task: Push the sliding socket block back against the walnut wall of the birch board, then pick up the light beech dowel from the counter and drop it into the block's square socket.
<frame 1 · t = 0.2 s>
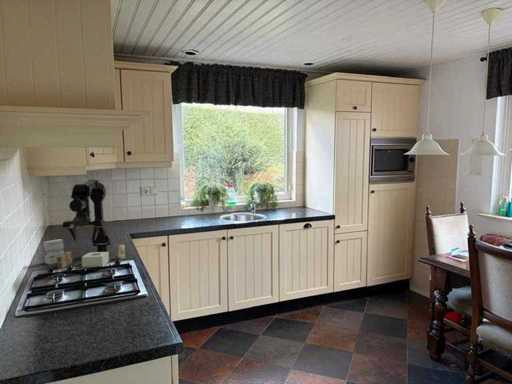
hand: (85, 240, 190), 14 cm above the countertop, tool pointing down, fingers open, 9 cm apart
wall board: (95, 266, 196), on the countertop
socket block: (95, 259, 196), point 4 cm above the countertop, slide at 9.0 cm
ink box: (54, 262, 207), on the countertop
dowel: (121, 260, 208), on the countertop
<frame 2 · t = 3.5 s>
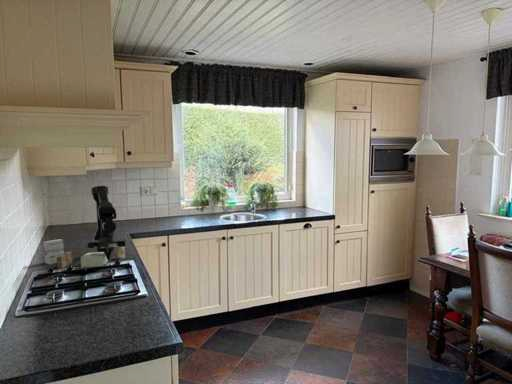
hand: (108, 260, 196), 3 cm above the countertop, tool pointing down, fingers closed
socket block: (94, 259, 196), point 4 cm above the countertop, slide at 8.5 cm, touching gripper
everything else where it was.
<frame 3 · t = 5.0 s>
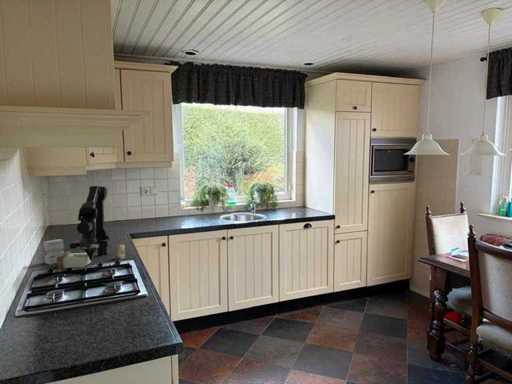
hand: (91, 260, 195), 3 cm above the countertop, tool pointing down, fingers closed
socket block: (77, 260, 195), point 4 cm above the countertop, slide at -0.1 cm, touching gripper
everything else where it was.
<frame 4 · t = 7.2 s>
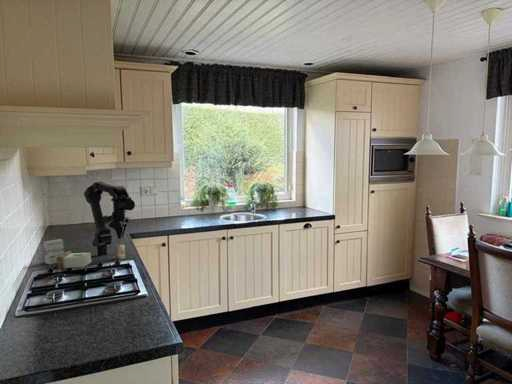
hand: (120, 238, 207), 12 cm above the countertop, tool pointing down, fingers open, 4 cm apart
socket block: (77, 260, 195), point 4 cm above the countertop, slide at 0.0 cm
everything else where it was.
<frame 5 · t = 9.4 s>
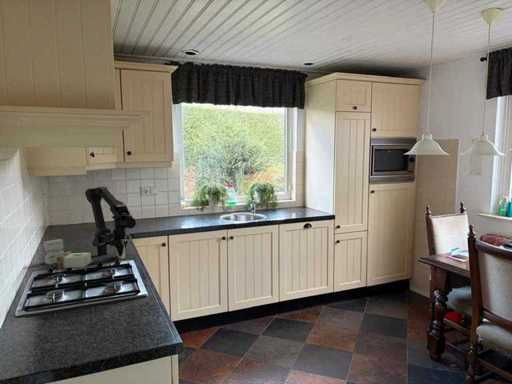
hand: (121, 255, 208), 3 cm above the countertop, tool pointing down, fingers closed on dowel, 4 cm apart
dowel: (121, 260, 208), on the countertop, touching gripper
everything else where it was.
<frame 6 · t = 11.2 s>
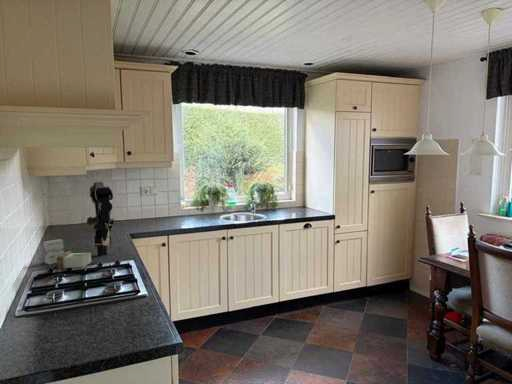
hand: (105, 240, 202), 12 cm above the countertop, tool pointing down, fingers closed on dowel, 4 cm apart
dowel: (106, 244, 203), point 9 cm above the countertop, touching gripper
everything else where it was.
when the fingers open (7 cm above the countertop, at t = 13.4 s): dowel drops 2 cm, resting on socket block.
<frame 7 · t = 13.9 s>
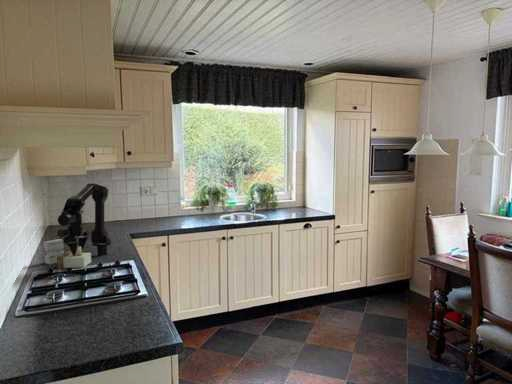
hand: (77, 253, 195), 7 cm above the countertop, tool pointing down, fingers open, 9 cm apart
socket block: (77, 260, 195), point 4 cm above the countertop, slide at 0.0 cm, touching dowel
dowel: (78, 262, 195), point 2 cm above the countertop, touching socket block
everything else where it was.
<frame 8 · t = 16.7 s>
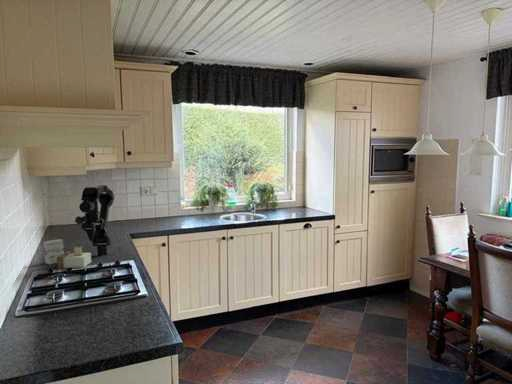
hand: (94, 239, 206), 12 cm above the countertop, tool pointing down, fingers open, 9 cm apart
nothing on the countertop moved.
at the end: socket block slide at 0.0 cm; dowel 0.4 cm off-centre on the socket block, point 1.1 cm above the socket block's base; dowel tilted 2° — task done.
